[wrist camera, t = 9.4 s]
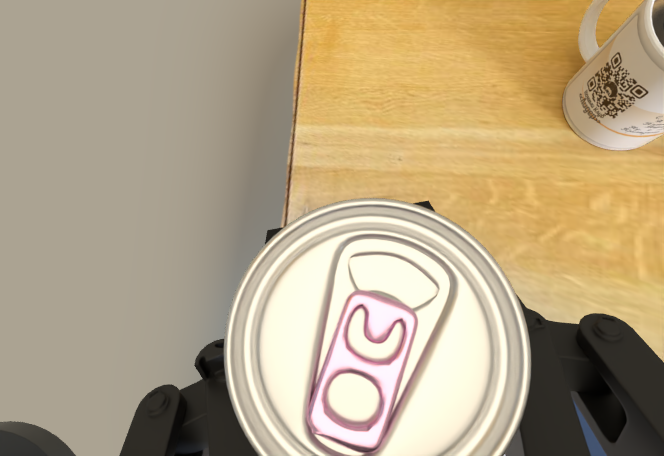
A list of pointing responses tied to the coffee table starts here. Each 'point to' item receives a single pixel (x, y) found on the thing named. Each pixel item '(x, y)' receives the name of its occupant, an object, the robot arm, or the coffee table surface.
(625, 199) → the coffee table surface
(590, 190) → the coffee table surface
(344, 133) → the coffee table surface
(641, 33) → the mug
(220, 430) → the robot arm
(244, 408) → the beverage can
